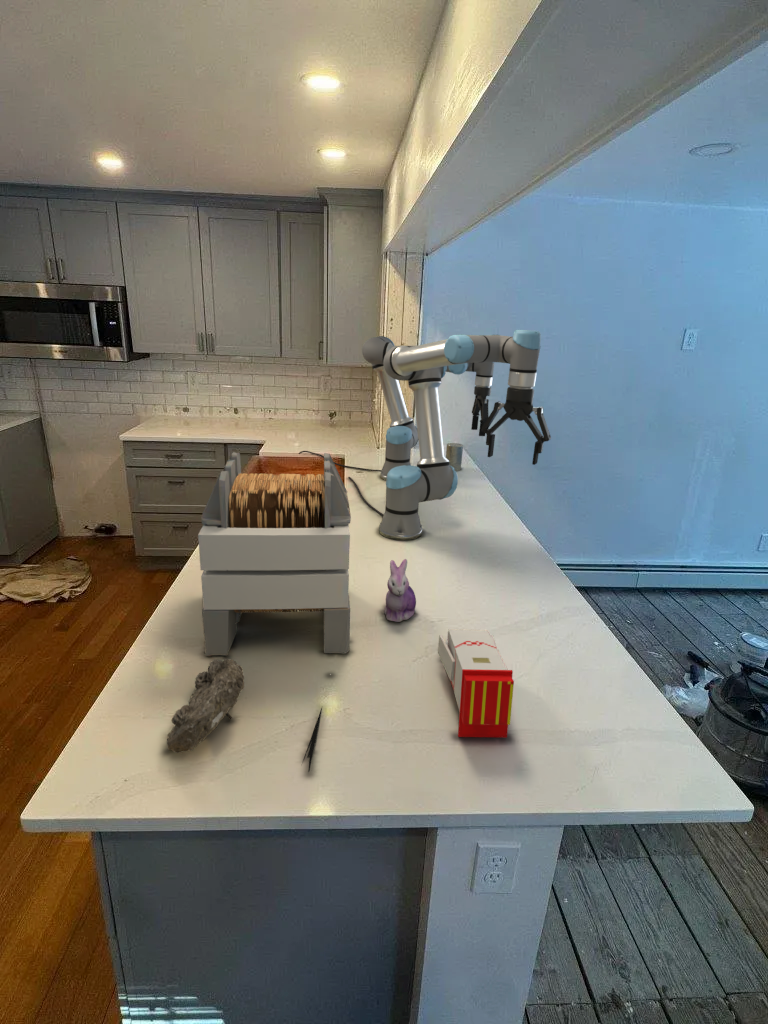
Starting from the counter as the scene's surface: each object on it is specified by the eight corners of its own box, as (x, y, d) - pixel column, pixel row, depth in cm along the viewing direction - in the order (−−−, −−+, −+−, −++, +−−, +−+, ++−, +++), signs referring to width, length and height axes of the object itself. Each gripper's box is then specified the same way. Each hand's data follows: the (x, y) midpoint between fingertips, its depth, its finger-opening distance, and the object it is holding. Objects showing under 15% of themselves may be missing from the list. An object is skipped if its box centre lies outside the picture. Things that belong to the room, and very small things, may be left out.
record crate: (226, 586, 157) (217, 442, 143) (344, 585, 161) (346, 445, 147) (202, 658, 125) (189, 482, 112) (350, 654, 129) (354, 483, 115)
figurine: (392, 627, 141) (395, 572, 136) (374, 608, 149) (376, 556, 144) (425, 619, 145) (429, 566, 140) (405, 601, 154) (408, 550, 149)
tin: (447, 471, 281) (449, 446, 277) (442, 466, 288) (444, 442, 284) (463, 470, 283) (465, 446, 278) (457, 466, 290) (460, 442, 286)
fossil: (192, 660, 117) (244, 628, 112) (224, 691, 120) (276, 661, 115) (142, 746, 98) (202, 712, 93) (182, 779, 101) (242, 748, 96)
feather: (331, 679, 122) (336, 673, 122) (307, 777, 96) (313, 769, 95) (324, 675, 122) (329, 669, 121) (298, 772, 95) (304, 764, 95)
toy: (488, 613, 130) (523, 677, 101) (484, 667, 133) (517, 744, 104) (435, 612, 130) (455, 676, 101) (432, 666, 133) (451, 743, 103)
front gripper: (568, 390, 158) (557, 464, 165) (483, 381, 169) (476, 451, 177) (562, 393, 152) (550, 469, 159) (474, 383, 163) (467, 455, 170)
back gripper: (499, 390, 244) (493, 439, 251) (483, 382, 267) (478, 427, 274) (482, 389, 243) (477, 438, 250) (468, 382, 266) (463, 426, 274)
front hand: (512, 460), depth 168 cm, fingers open, 13 cm apart
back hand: (477, 432), depth 262 cm, fingers open, 13 cm apart
